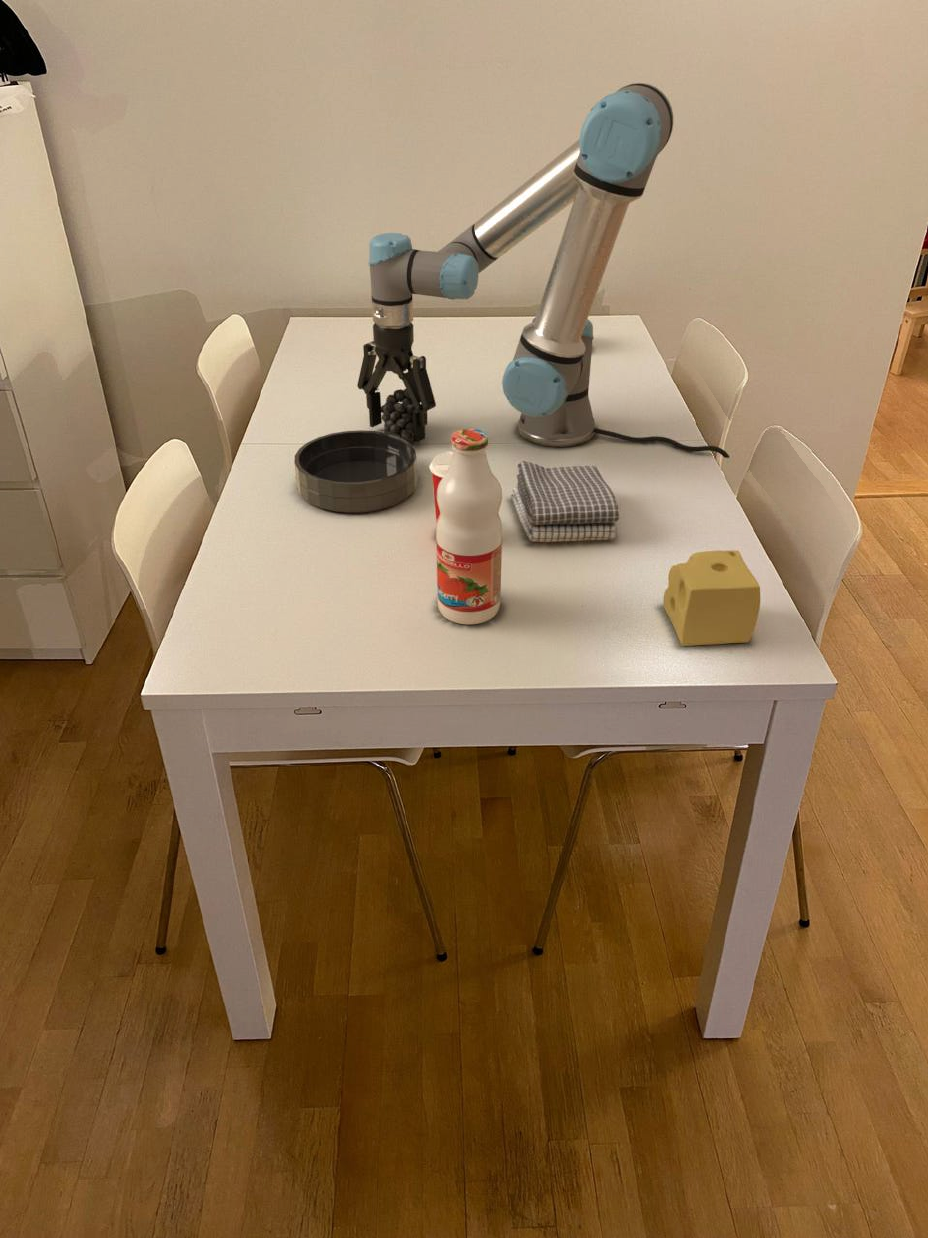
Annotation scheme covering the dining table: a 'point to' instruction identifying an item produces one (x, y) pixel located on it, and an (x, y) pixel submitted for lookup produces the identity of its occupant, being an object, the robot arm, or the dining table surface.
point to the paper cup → (439, 473)
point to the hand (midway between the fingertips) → (397, 432)
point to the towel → (564, 503)
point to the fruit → (398, 414)
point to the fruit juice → (469, 533)
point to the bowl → (356, 471)
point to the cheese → (712, 599)
